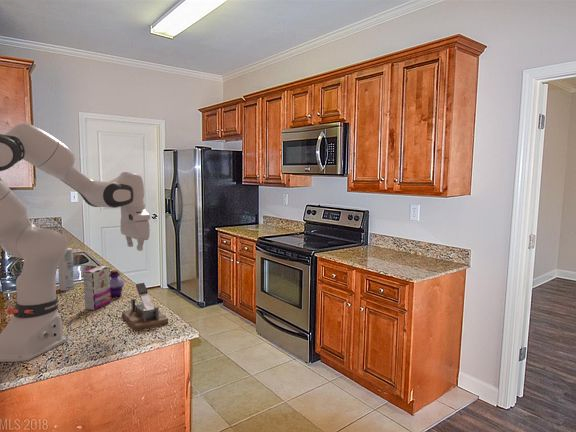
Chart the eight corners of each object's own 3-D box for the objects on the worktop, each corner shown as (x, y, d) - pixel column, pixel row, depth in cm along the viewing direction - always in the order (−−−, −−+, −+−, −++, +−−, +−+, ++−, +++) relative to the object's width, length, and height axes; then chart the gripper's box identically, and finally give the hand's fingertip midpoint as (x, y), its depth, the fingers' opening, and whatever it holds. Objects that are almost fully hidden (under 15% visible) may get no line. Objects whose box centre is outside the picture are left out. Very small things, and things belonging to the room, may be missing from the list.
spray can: (68, 290, 188) (66, 250, 186) (56, 290, 189) (54, 250, 187) (77, 287, 195) (75, 247, 193) (64, 286, 195) (62, 247, 193)
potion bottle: (100, 297, 179) (99, 271, 178) (114, 292, 187) (113, 267, 186) (115, 299, 176) (114, 273, 175) (129, 294, 184) (128, 269, 183)
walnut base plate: (168, 323, 149) (168, 318, 148) (136, 330, 141) (135, 325, 141) (152, 310, 163) (152, 305, 162) (122, 316, 155) (122, 311, 155)
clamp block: (158, 319, 147) (158, 306, 147) (143, 322, 144) (143, 309, 143) (145, 308, 160) (145, 296, 159) (131, 310, 156) (130, 298, 156)
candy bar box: (101, 301, 174) (100, 265, 172) (111, 302, 173) (110, 266, 171) (84, 309, 163) (82, 271, 161) (94, 310, 162) (93, 272, 160)
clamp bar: (154, 310, 147) (154, 308, 146) (146, 312, 145) (146, 309, 144) (143, 285, 156) (143, 282, 155) (135, 286, 154) (136, 283, 153)
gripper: (115, 212, 158) (117, 245, 159) (135, 217, 143) (137, 254, 145) (130, 210, 162) (132, 243, 164) (152, 215, 147) (153, 251, 149)
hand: (135, 248), depth 154 cm, fingers open, 8 cm apart
